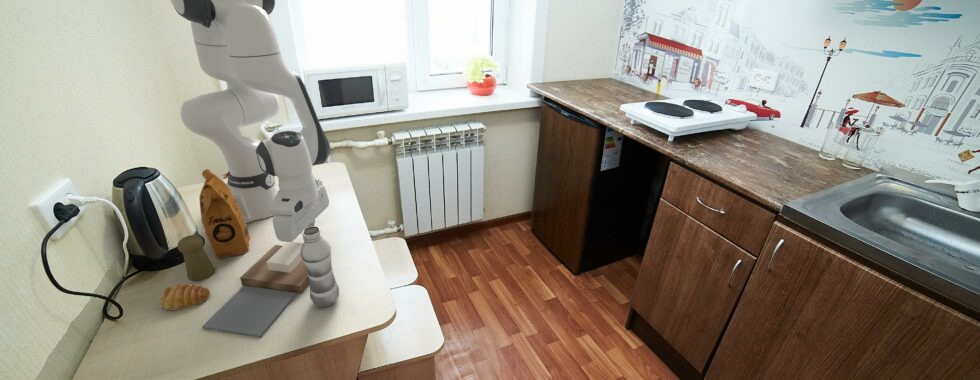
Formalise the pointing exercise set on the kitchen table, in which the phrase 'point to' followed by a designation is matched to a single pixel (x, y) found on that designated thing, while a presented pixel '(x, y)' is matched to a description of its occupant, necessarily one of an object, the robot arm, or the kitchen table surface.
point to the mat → (250, 311)
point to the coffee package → (222, 218)
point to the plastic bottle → (319, 267)
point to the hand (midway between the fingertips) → (309, 236)
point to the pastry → (183, 296)
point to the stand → (276, 276)
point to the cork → (196, 258)
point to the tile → (286, 258)
